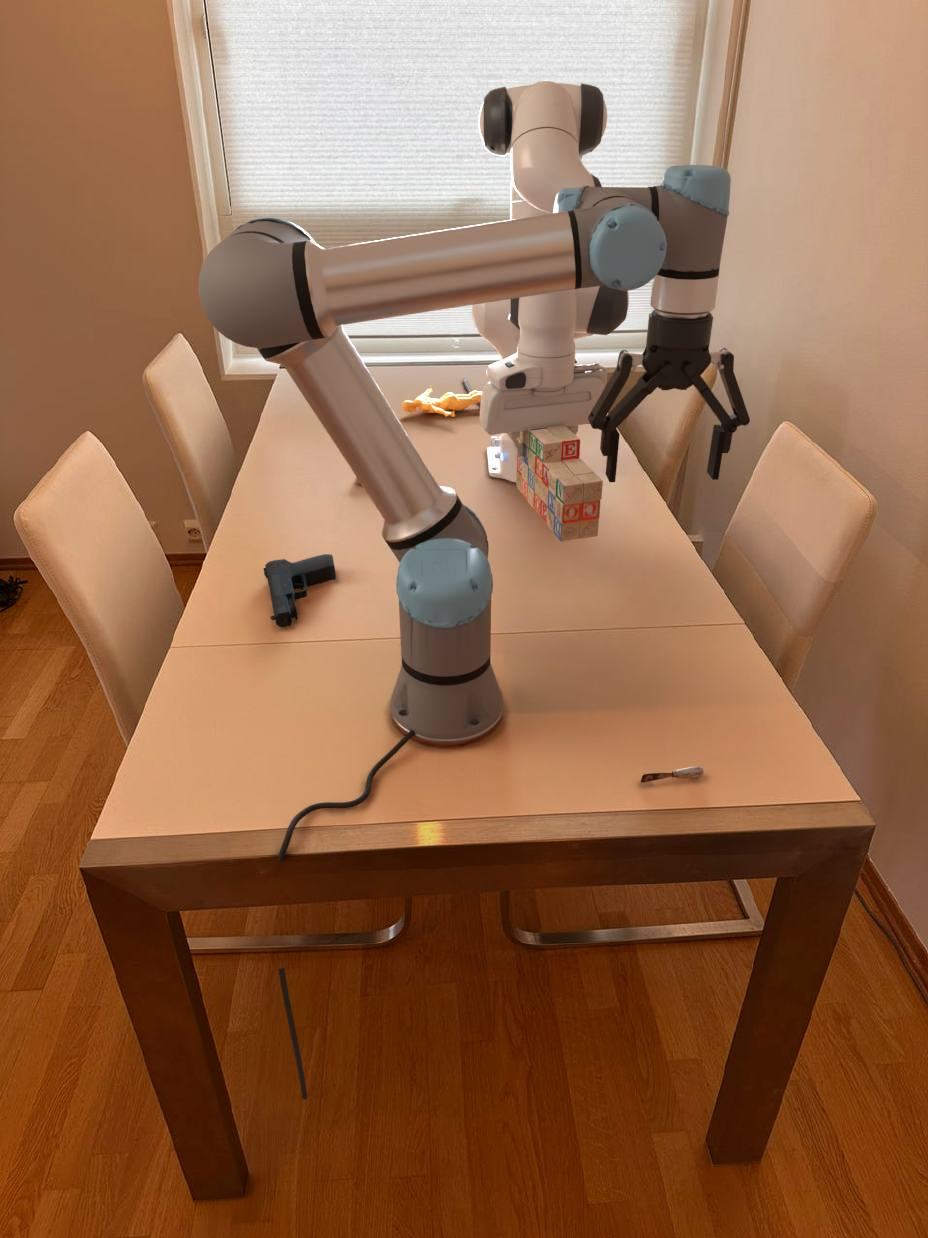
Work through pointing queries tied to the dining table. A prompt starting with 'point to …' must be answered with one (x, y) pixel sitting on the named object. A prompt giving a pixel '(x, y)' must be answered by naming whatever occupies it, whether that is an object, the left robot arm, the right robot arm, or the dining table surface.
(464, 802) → the dining table surface
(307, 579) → the handgun
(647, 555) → the dining table surface
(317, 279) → the left robot arm
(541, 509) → the stack of blocks
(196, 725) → the dining table surface
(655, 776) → the putty knife
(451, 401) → the human figure
